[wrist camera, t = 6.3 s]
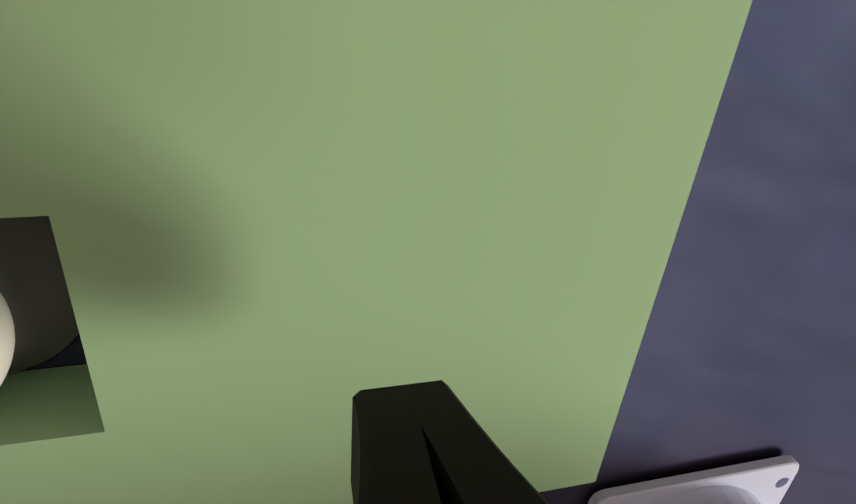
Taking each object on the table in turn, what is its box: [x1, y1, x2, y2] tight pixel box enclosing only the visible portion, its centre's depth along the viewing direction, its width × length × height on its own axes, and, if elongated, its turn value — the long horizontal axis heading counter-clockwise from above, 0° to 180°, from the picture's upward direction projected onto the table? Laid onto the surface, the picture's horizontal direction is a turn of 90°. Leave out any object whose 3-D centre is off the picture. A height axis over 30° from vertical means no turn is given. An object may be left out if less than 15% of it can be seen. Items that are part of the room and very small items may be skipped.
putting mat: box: [0, 0, 752, 504], centre depth 12 cm, size 13×18×2 cm
